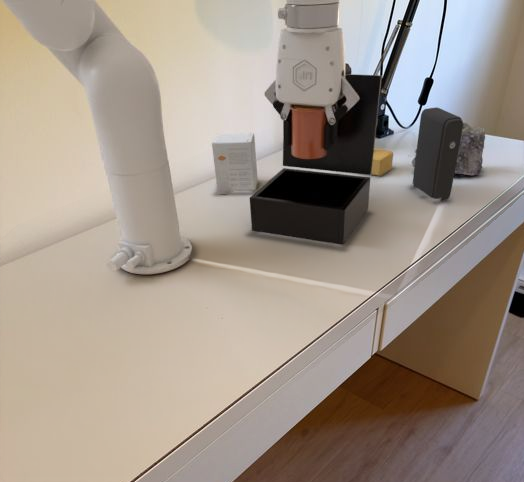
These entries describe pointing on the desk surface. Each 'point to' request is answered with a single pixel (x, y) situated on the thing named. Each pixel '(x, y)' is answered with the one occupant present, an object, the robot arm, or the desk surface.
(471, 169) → the mineral rock
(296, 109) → the ramekin
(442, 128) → the card reader
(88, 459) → the desk surface
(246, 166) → the small box
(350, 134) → the black box lid
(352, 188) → the black open box
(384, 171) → the rubber stamp
